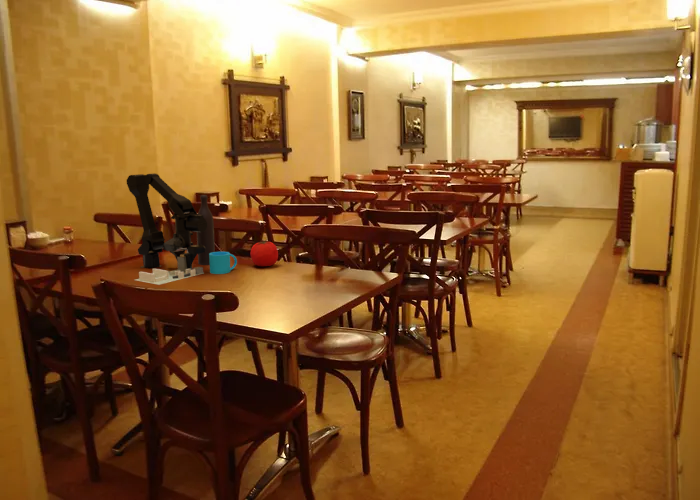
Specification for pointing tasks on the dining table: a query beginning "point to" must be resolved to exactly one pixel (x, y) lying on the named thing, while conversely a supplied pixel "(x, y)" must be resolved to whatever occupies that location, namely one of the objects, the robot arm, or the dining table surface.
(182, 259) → the block
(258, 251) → the tomato
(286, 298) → the dining table surface
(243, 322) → the dining table surface
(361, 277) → the dining table surface
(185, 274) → the cable
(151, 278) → the holder
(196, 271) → the clamp and clips
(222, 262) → the mug
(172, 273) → the board
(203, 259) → the wine bottle
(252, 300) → the dining table surface
